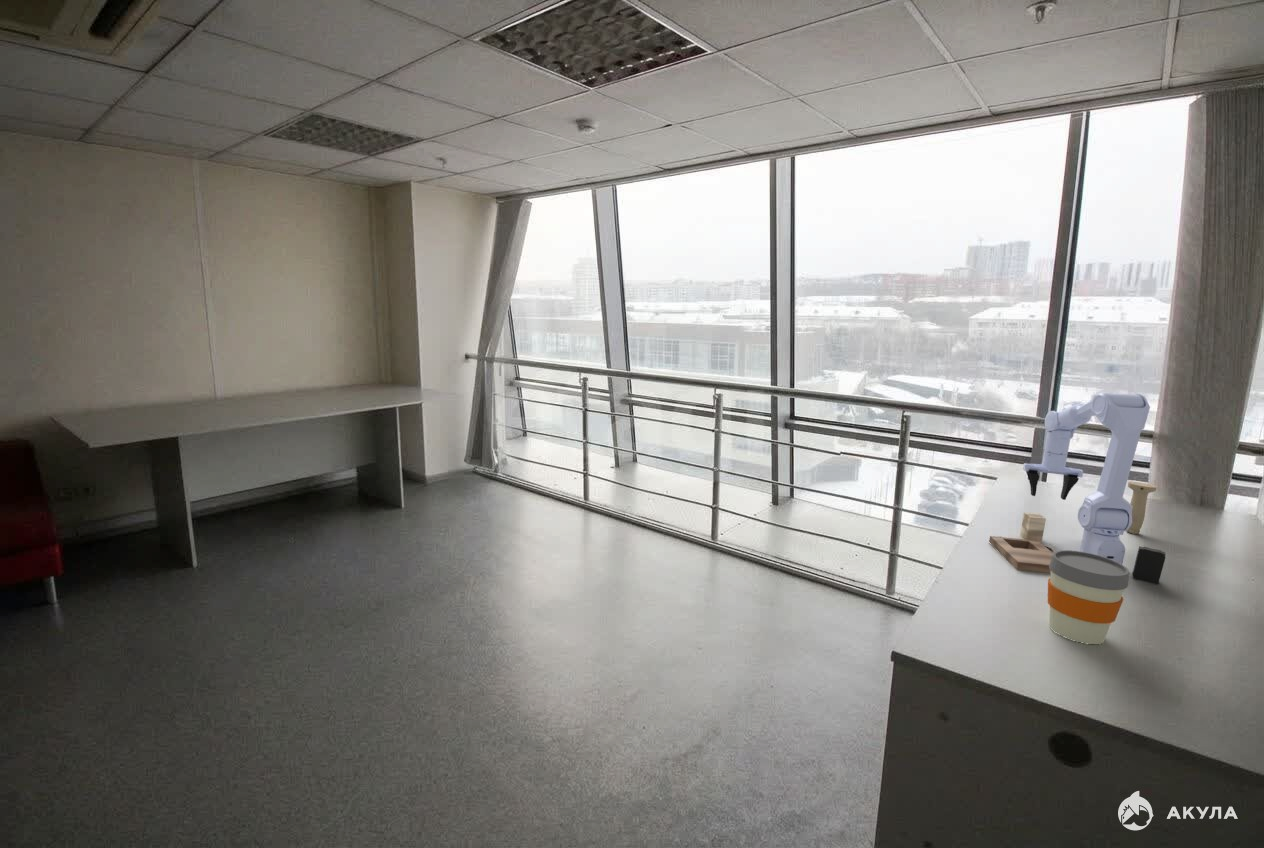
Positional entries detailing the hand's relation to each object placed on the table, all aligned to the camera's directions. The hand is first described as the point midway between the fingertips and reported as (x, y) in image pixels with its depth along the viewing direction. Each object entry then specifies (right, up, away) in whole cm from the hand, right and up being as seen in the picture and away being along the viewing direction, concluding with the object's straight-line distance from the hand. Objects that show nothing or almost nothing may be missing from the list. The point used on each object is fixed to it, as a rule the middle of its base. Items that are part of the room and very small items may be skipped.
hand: (1047, 496), depth 181 cm
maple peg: (-10, -11, -8) cm, 17 cm away
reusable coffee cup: (-35, -20, -59) cm, 72 cm away
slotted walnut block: (-20, -13, -22) cm, 33 cm away
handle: (+26, -11, +1) cm, 28 cm away
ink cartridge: (+1, -17, -32) cm, 37 cm away
